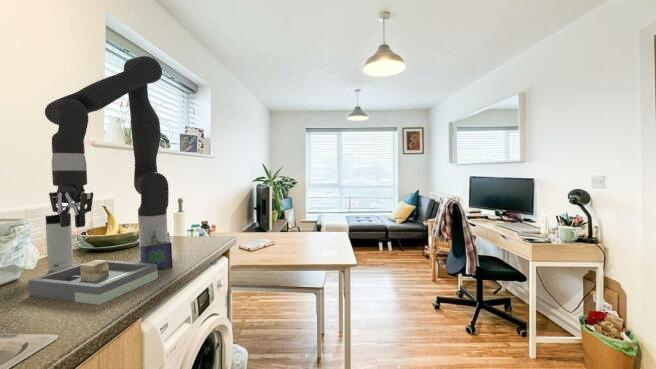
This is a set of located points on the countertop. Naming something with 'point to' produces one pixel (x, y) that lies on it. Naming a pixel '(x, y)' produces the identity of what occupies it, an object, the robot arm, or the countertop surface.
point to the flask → (157, 254)
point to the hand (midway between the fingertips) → (72, 226)
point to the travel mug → (58, 244)
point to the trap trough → (93, 283)
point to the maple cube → (94, 270)
